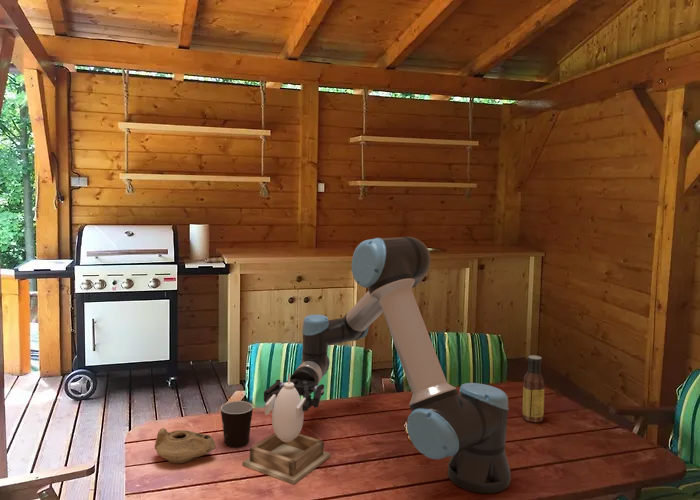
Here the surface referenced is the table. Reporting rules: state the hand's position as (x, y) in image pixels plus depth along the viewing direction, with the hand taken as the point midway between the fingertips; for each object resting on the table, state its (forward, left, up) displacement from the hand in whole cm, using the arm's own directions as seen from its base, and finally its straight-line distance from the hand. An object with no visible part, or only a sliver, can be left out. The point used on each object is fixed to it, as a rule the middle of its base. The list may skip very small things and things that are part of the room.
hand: (281, 411), depth 140 cm
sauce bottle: (-46, -68, -16) cm, 83 cm away
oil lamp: (+24, +9, -16) cm, 30 cm away
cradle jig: (+1, -5, -15) cm, 16 cm away
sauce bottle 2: (+2, -5, -10) cm, 11 cm away
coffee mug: (+19, -7, -16) cm, 26 cm away
